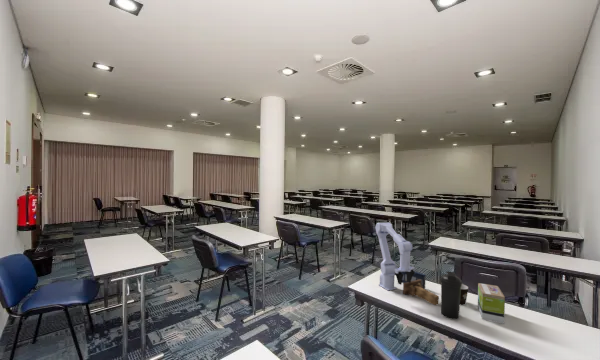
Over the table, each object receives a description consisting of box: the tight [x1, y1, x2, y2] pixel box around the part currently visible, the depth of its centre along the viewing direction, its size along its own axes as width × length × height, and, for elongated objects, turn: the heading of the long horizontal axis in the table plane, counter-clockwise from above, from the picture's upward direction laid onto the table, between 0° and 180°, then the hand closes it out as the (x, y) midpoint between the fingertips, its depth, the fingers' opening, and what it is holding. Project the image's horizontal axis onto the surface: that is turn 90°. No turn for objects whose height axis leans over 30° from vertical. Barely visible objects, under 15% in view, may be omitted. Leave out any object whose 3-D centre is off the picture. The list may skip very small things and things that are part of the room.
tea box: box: [477, 282, 506, 324], centre depth 145 cm, size 15×10×15 cm, turn 154°
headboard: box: [402, 279, 423, 297], centre depth 169 cm, size 5×15×7 cm, turn 115°
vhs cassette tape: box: [401, 270, 427, 290], centre depth 182 cm, size 18×3×10 cm, turn 43°
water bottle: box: [440, 271, 463, 320], centre depth 144 cm, size 10×10×23 cm
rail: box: [413, 285, 440, 306], centre depth 162 cm, size 16×3×5 cm, turn 25°
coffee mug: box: [460, 283, 469, 306], centre depth 159 cm, size 12×9×10 cm
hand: (404, 283), depth 161 cm, fingers open, 7 cm apart
